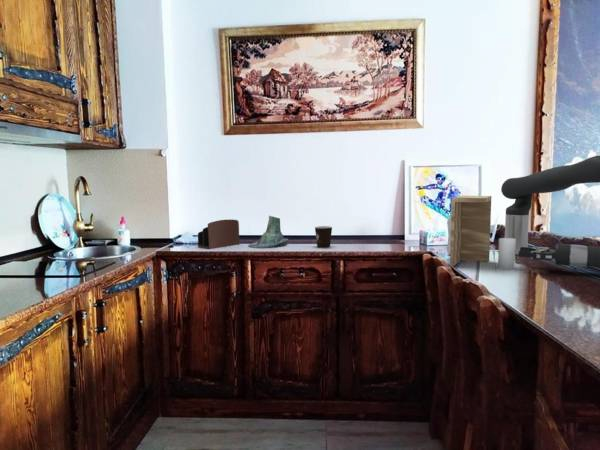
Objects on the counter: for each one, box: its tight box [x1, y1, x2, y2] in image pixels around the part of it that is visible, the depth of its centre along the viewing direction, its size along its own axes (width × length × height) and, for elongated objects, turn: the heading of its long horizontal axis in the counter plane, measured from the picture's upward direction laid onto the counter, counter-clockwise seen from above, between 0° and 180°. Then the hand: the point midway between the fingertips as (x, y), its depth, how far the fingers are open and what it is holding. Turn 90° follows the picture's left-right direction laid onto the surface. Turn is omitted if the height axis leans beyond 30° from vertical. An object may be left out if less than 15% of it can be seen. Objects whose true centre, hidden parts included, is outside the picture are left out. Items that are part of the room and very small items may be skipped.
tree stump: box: [247, 215, 289, 249], centre depth 225 cm, size 18×20×18 cm
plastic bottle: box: [446, 215, 451, 256], centre depth 187 cm, size 6×7×20 cm
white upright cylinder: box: [497, 237, 516, 271], centre depth 162 cm, size 6×6×11 cm
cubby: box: [449, 195, 492, 268], centre depth 168 cm, size 17×12×26 cm
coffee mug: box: [314, 225, 333, 249], centre depth 218 cm, size 12×9×10 cm
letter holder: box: [197, 219, 241, 250], centre depth 225 cm, size 10×20×14 cm, turn 138°
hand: (519, 251), depth 159 cm, fingers open, 8 cm apart
